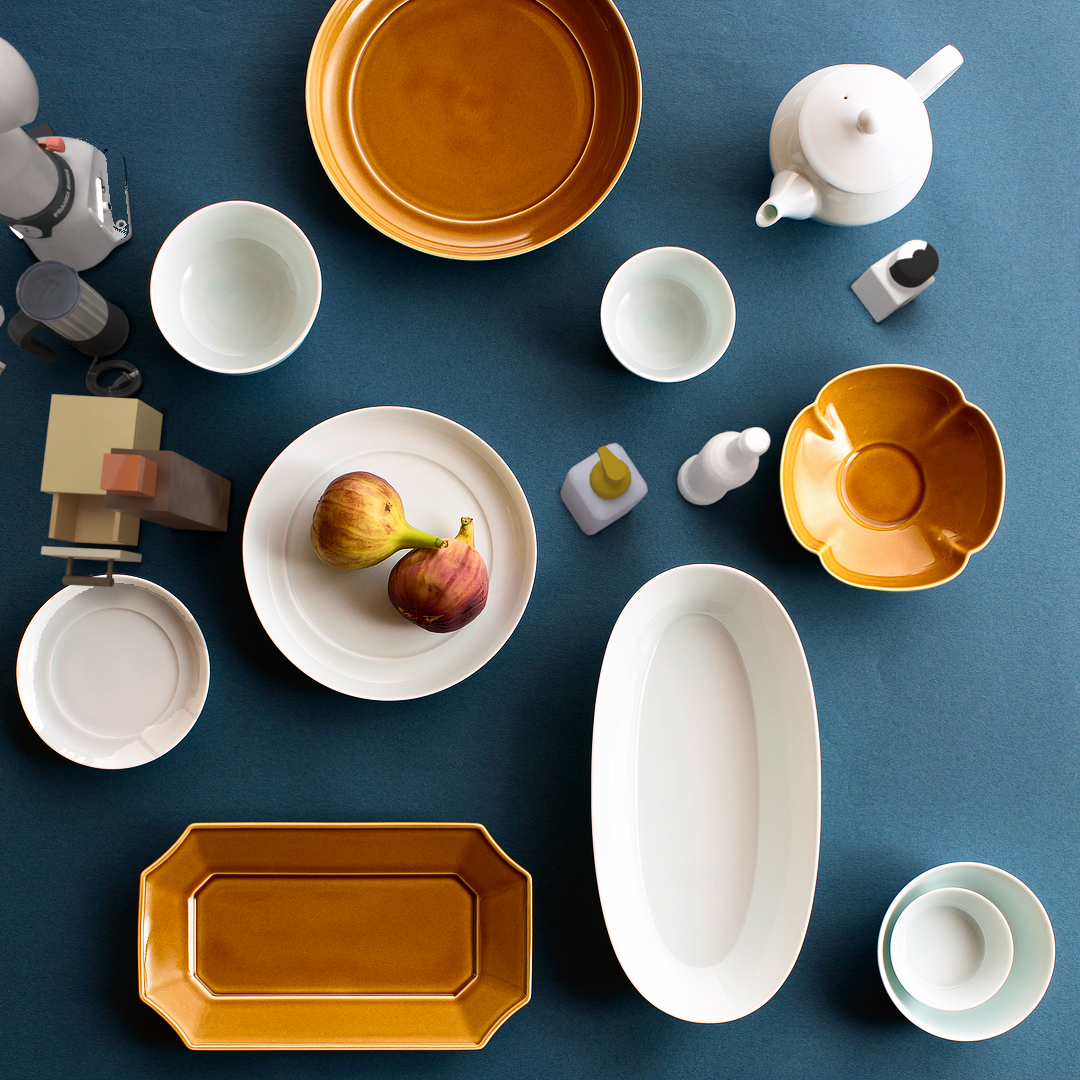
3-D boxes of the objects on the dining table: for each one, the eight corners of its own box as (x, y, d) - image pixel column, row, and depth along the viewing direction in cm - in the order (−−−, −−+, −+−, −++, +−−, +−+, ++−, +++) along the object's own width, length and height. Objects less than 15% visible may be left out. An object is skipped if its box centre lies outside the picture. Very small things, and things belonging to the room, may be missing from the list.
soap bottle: (602, 463, 128) (625, 423, 103) (633, 509, 128) (663, 480, 103) (556, 492, 127) (568, 459, 102) (586, 539, 127) (606, 517, 102)
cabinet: (153, 504, 124) (127, 495, 116) (72, 500, 124) (40, 491, 115) (163, 414, 126) (138, 398, 118) (82, 409, 126) (51, 393, 117)
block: (123, 461, 103) (103, 453, 98) (158, 463, 103) (140, 455, 98) (119, 495, 103) (99, 488, 98) (154, 497, 103) (136, 490, 98)
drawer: (138, 589, 122) (116, 586, 115) (63, 585, 122) (37, 583, 115) (150, 476, 124) (129, 467, 117) (76, 472, 124) (51, 463, 117)
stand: (180, 478, 125) (110, 447, 103) (231, 481, 125) (173, 451, 104) (175, 529, 124) (104, 508, 102) (226, 531, 124) (167, 511, 103)
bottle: (693, 448, 129) (749, 394, 99) (734, 476, 129) (802, 431, 99) (665, 487, 128) (713, 445, 98) (706, 516, 128) (767, 483, 98)
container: (912, 299, 133) (955, 264, 120) (876, 323, 133) (916, 291, 120) (885, 263, 134) (925, 224, 121) (849, 287, 133) (885, 250, 120)
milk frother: (93, 291, 128) (38, 247, 113) (176, 339, 127) (133, 302, 113) (43, 364, 126) (-19, 330, 111) (127, 413, 126) (77, 385, 111)
